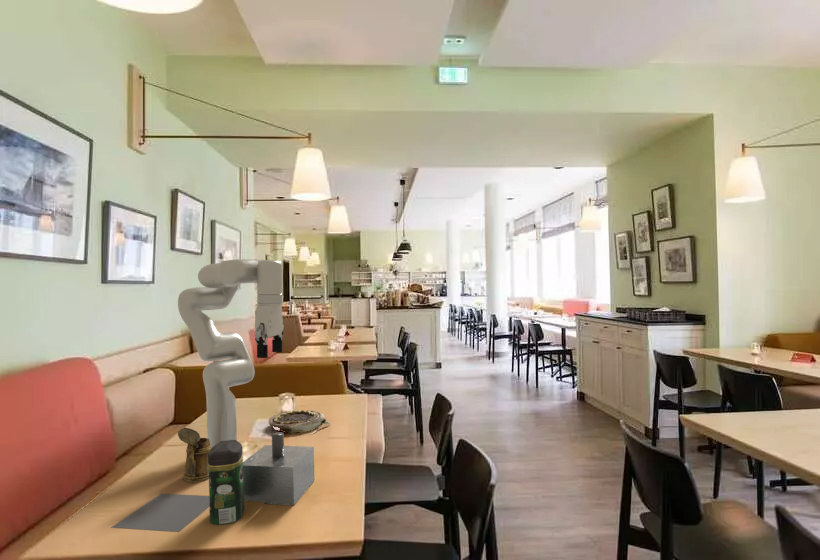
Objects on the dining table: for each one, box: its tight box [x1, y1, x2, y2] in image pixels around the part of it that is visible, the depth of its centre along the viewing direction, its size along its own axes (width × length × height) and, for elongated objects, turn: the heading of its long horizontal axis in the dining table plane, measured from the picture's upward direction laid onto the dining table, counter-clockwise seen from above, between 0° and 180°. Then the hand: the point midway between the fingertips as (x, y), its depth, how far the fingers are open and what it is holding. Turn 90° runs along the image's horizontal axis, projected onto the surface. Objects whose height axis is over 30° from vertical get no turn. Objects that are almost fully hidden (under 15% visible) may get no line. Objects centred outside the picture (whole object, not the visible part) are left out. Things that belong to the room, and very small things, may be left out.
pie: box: [268, 409, 331, 435], centre depth 193 cm, size 28×27×5 cm
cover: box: [243, 431, 315, 506], centre depth 133 cm, size 15×15×16 cm
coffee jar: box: [208, 440, 245, 526], centre depth 119 cm, size 10×8×19 cm
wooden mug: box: [177, 427, 211, 484], centre depth 141 cm, size 9×14×18 cm, turn 1°
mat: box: [110, 492, 210, 533], centre depth 122 cm, size 18×18×1 cm
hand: (270, 354), depth 147 cm, fingers open, 9 cm apart
